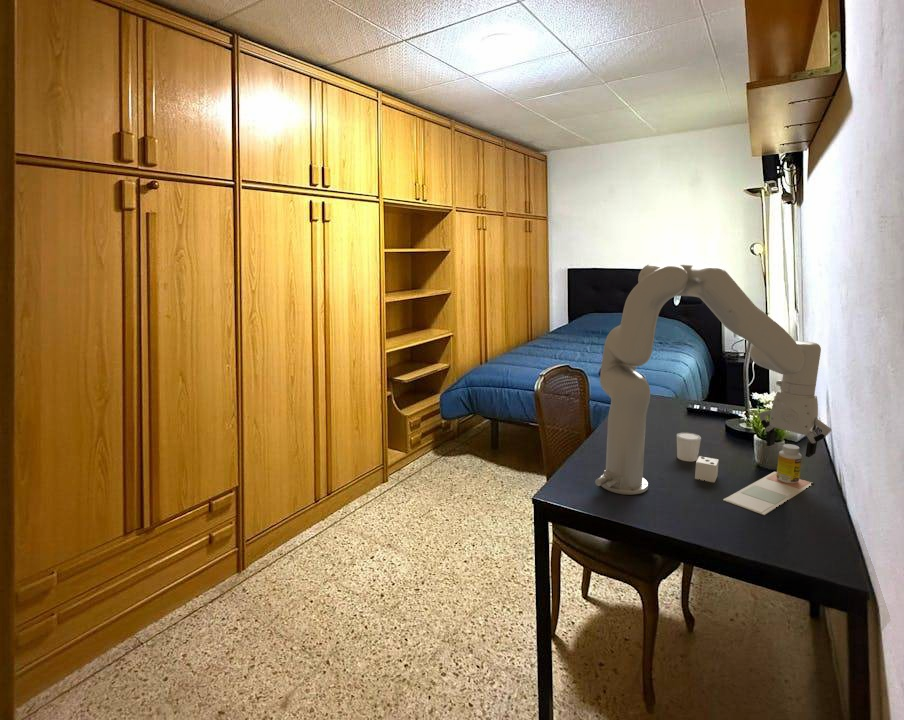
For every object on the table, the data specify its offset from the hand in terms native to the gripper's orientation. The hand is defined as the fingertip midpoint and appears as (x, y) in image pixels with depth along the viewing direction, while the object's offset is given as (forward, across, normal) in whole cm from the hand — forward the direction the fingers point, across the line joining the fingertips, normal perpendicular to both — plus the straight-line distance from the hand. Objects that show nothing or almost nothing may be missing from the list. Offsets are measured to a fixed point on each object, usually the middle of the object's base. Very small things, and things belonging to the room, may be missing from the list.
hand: (789, 450), depth 147 cm
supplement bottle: (+9, 0, 0) cm, 9 cm away
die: (+10, -15, -14) cm, 22 cm away
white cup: (+10, -26, -5) cm, 28 cm away
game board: (+9, 0, -10) cm, 13 cm away
